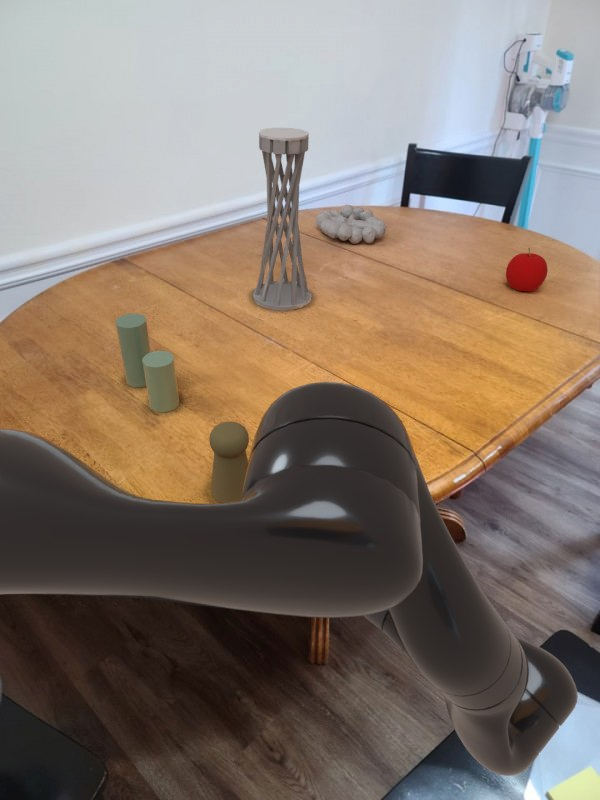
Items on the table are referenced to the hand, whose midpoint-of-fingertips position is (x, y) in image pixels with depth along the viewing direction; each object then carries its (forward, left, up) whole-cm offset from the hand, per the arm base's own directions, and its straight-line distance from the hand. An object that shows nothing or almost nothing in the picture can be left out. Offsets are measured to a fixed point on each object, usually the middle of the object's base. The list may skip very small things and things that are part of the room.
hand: (279, 484), depth 68 cm
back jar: (+2, +44, -9) cm, 45 cm away
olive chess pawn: (0, +11, -10) cm, 15 cm away
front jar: (+2, +35, -9) cm, 36 cm away
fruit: (+94, +26, -10) cm, 98 cm away
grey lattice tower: (+43, +56, -10) cm, 71 cm away
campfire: (+85, +78, -10) cm, 116 cm away
